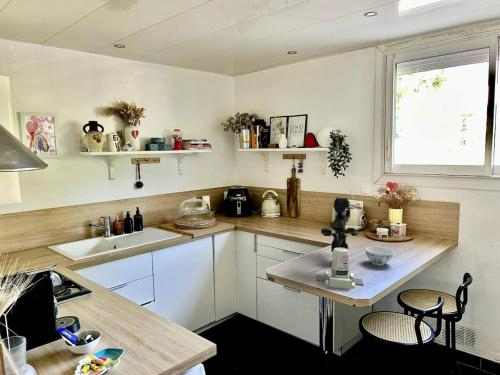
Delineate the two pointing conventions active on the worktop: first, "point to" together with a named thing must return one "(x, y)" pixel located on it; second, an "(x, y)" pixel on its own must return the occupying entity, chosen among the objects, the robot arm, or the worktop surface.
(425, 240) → the worktop surface
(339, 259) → the supplement can
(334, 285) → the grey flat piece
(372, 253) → the chinaware
